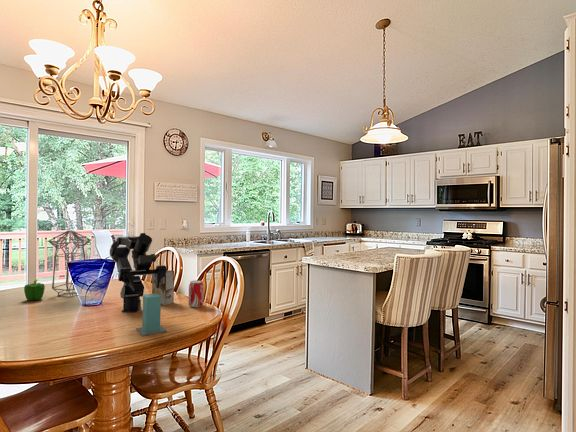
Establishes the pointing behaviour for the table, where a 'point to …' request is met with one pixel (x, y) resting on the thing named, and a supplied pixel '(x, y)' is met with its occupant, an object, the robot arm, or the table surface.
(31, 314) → the table surface
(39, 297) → the bell pepper
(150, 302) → the teal rectangular block
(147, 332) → the plate
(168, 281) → the coffee box
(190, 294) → the soda can
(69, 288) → the geometric lantern
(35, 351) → the table surface
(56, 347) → the table surface
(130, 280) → the robot arm
